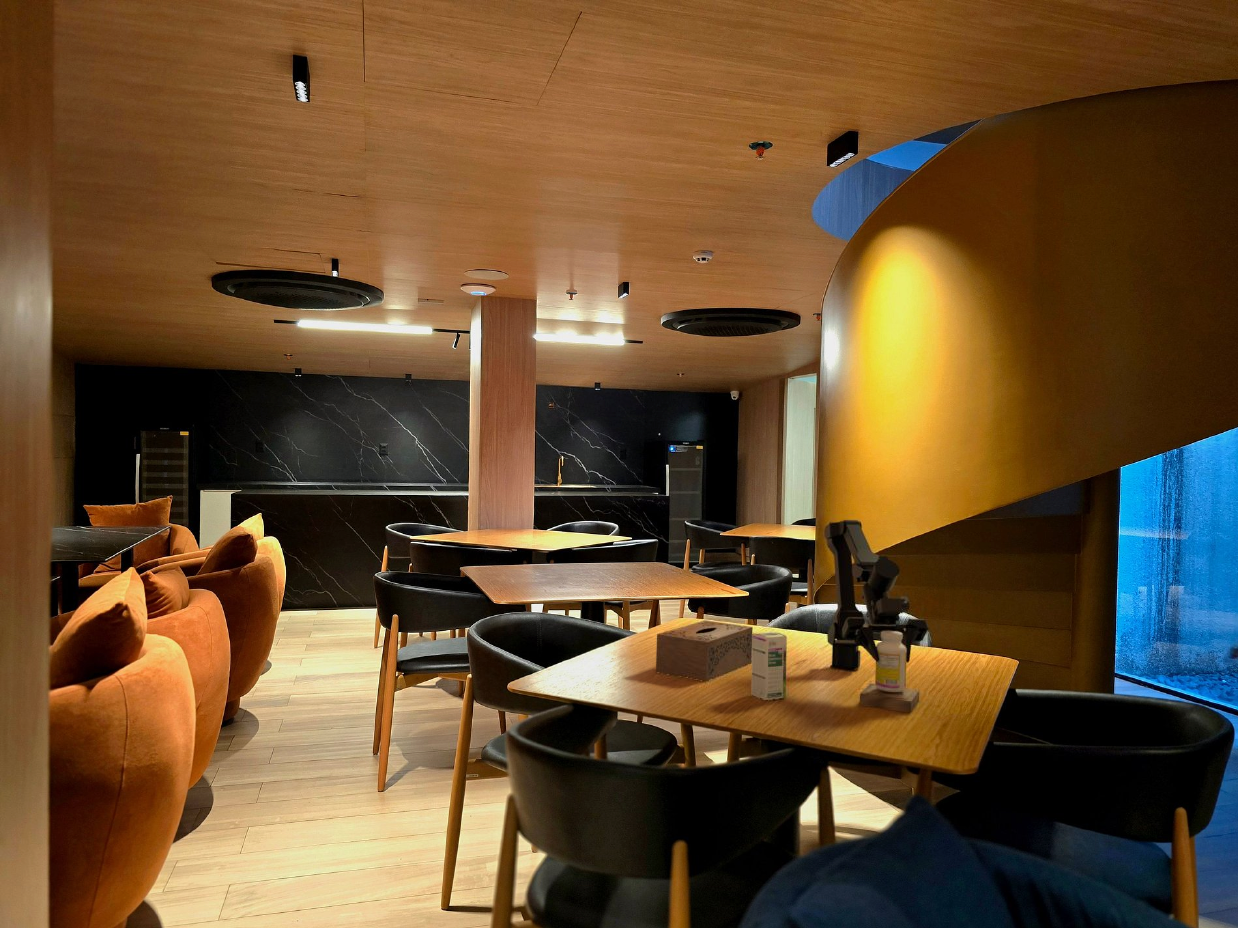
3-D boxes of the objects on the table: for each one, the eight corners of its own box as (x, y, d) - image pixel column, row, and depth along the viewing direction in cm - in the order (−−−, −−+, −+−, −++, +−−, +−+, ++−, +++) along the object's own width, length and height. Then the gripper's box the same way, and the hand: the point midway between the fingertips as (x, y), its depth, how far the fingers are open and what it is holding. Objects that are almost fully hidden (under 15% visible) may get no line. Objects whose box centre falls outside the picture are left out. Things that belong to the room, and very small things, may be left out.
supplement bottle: (889, 683, 197) (891, 628, 197) (912, 691, 191) (913, 634, 191) (868, 686, 194) (870, 630, 193) (890, 694, 188) (892, 636, 188)
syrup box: (765, 701, 190) (767, 636, 190) (750, 694, 195) (752, 631, 196) (786, 698, 193) (788, 635, 193) (770, 692, 198) (771, 630, 198)
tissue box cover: (706, 683, 206) (707, 642, 206) (655, 673, 214) (657, 634, 214) (751, 664, 228) (752, 627, 228) (703, 656, 236) (704, 620, 236)
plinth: (859, 704, 190) (860, 692, 190) (870, 693, 199) (870, 682, 199) (910, 712, 185) (911, 700, 185) (919, 701, 194) (919, 689, 194)
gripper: (847, 582, 196) (860, 640, 185) (927, 584, 196) (945, 642, 185) (836, 610, 204) (848, 667, 193) (913, 612, 204) (929, 669, 193)
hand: (892, 661), depth 191 cm, fingers closed on supplement bottle, 6 cm apart
